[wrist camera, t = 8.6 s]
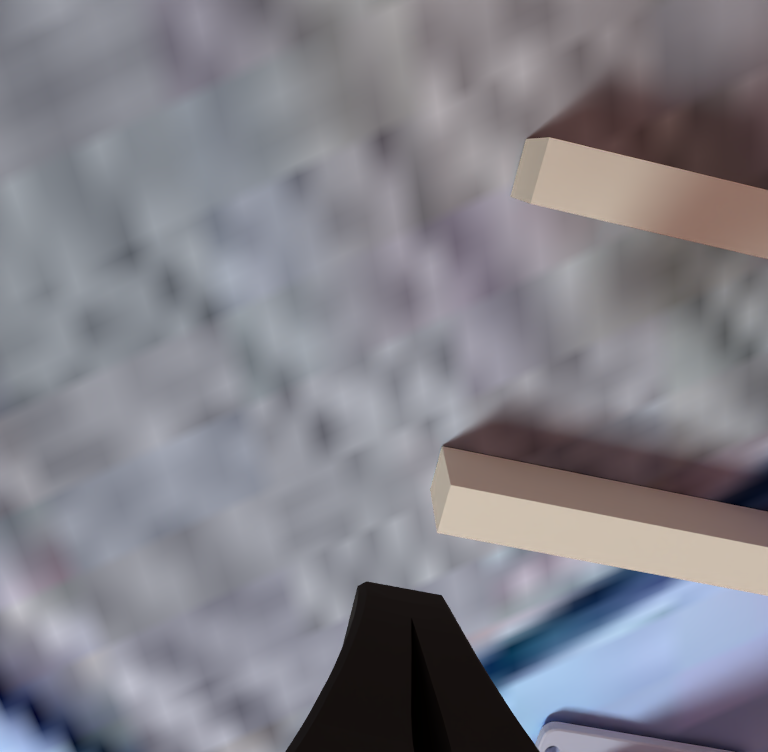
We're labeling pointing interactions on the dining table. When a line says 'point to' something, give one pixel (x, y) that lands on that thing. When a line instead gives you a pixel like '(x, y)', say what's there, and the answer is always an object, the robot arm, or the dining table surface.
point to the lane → (597, 495)
